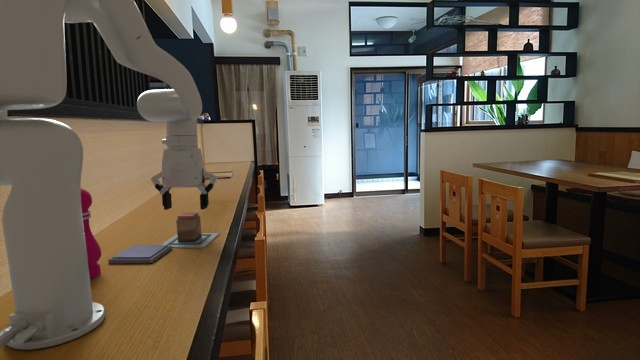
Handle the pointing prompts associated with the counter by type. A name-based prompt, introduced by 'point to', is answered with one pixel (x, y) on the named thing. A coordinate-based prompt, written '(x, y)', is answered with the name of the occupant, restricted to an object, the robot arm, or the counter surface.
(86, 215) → the pepper mill
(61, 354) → the counter surface
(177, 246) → the light grey flat square
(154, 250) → the ink pad
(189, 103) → the robot arm
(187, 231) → the stamp
